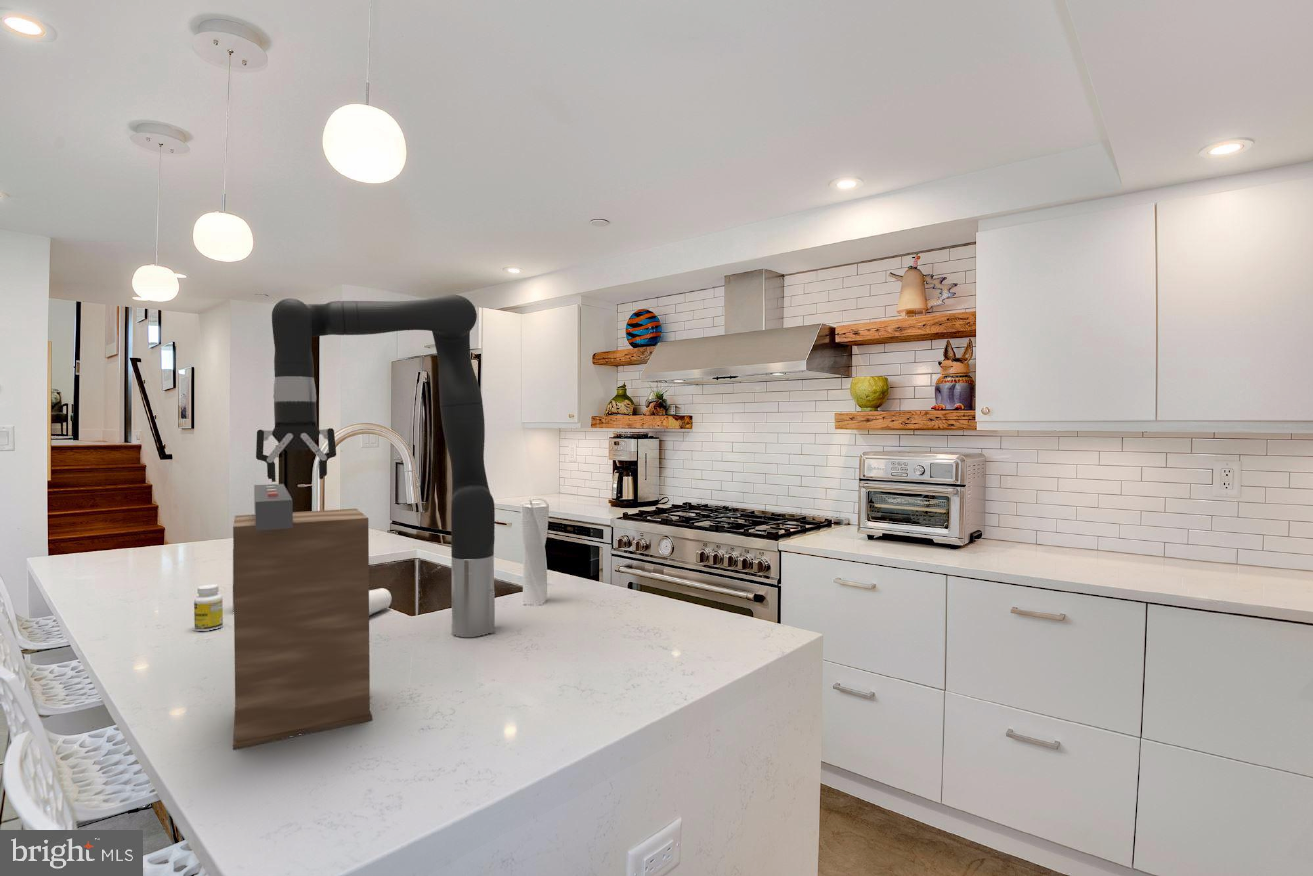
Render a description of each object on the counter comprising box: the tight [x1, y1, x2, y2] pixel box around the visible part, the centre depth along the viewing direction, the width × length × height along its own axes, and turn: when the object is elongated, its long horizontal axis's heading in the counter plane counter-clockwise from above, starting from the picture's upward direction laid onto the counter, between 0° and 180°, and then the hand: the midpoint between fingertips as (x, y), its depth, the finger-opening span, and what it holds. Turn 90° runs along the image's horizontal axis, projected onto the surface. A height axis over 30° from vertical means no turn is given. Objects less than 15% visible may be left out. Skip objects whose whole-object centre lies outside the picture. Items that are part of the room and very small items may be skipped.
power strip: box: [253, 483, 294, 531], centre depth 107 cm, size 30×4×4 cm, turn 31°
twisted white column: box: [520, 496, 550, 606], centre depth 176 cm, size 8×8×28 cm
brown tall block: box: [232, 508, 373, 750], centre depth 107 cm, size 15×19×32 cm
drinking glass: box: [369, 587, 392, 616], centre depth 163 cm, size 7×7×15 cm
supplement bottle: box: [193, 583, 224, 632], centre depth 153 cm, size 5×5×10 cm
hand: (297, 480), depth 136 cm, fingers open, 8 cm apart
